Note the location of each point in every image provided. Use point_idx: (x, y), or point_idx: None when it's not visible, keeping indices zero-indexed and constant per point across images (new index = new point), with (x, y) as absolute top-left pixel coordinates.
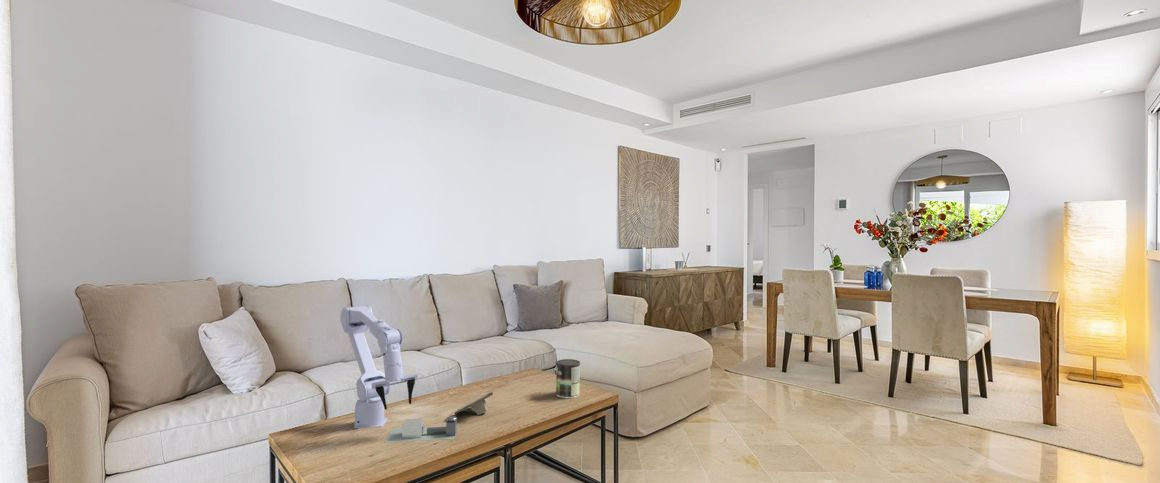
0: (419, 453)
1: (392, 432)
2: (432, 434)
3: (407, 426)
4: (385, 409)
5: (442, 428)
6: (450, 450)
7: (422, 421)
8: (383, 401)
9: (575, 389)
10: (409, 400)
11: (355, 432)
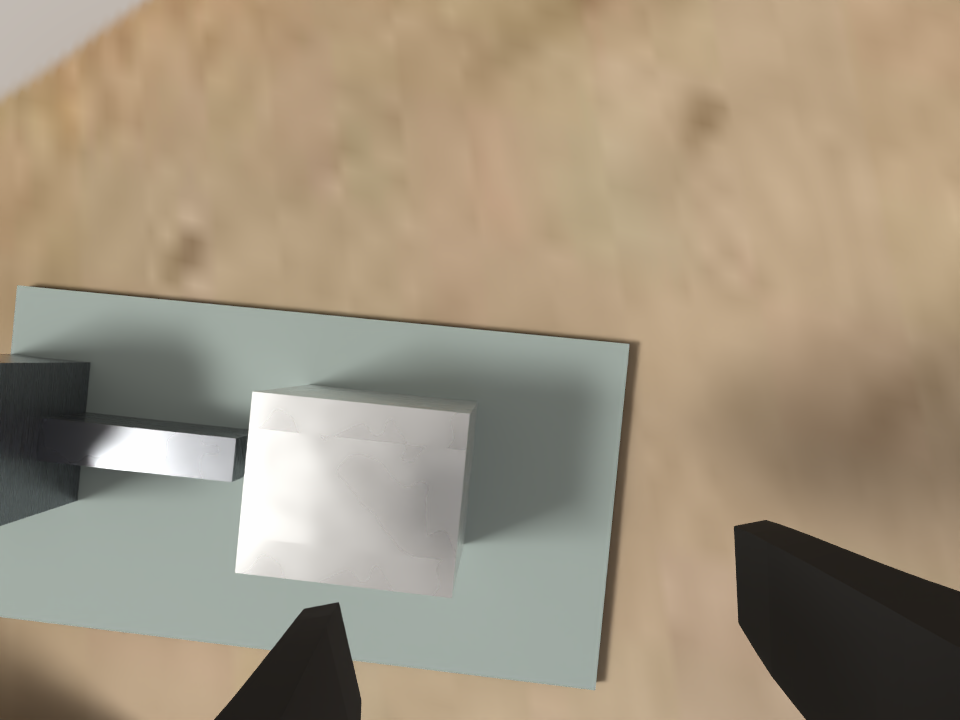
0: (306, 70)
1: (586, 574)
2: (210, 427)
3: (414, 405)
4: (758, 522)
5: (82, 420)
6: (59, 77)
7: (245, 473)
8: (900, 578)
9: None
10: (311, 637)
11: None
